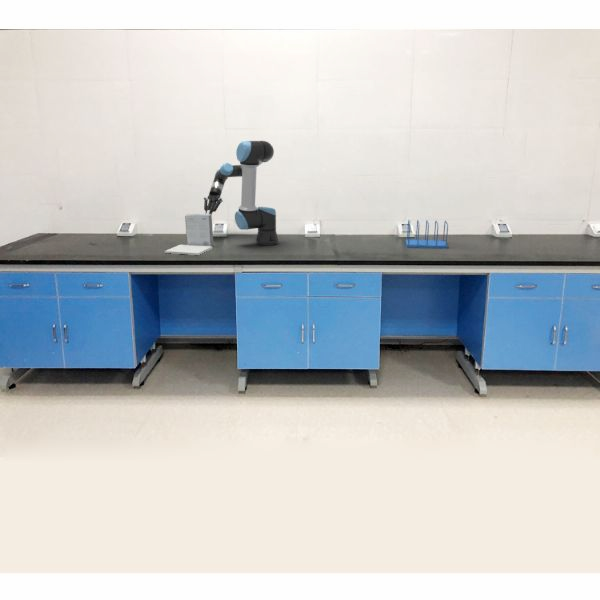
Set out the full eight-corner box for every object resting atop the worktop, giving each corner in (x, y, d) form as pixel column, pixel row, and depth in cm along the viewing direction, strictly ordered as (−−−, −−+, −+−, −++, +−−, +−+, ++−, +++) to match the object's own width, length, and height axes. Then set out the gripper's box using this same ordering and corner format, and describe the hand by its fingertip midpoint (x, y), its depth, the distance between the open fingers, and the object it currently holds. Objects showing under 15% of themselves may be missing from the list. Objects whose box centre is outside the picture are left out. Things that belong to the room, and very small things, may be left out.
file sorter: (406, 247, 367) (407, 223, 363) (405, 242, 384) (406, 218, 379) (447, 248, 364) (449, 224, 359) (444, 243, 380) (446, 219, 376)
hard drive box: (213, 245, 375) (212, 213, 369) (211, 247, 368) (209, 215, 362) (189, 244, 377) (188, 213, 371) (186, 247, 369) (184, 215, 363)
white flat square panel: (212, 248, 364) (212, 246, 364) (198, 255, 346) (198, 253, 345) (180, 246, 370) (180, 244, 370) (164, 253, 352) (164, 251, 351)
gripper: (227, 194, 391) (217, 223, 381) (209, 193, 394) (199, 222, 384) (223, 187, 384) (214, 216, 374) (205, 186, 388) (195, 215, 378)
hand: (206, 219), depth 379 cm, fingers closed
